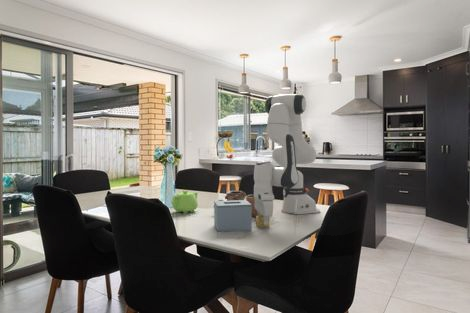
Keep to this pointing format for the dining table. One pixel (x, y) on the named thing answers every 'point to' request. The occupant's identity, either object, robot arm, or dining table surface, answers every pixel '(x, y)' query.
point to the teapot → (185, 202)
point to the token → (260, 221)
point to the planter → (252, 201)
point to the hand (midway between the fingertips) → (262, 222)
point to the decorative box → (235, 195)
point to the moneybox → (232, 215)
